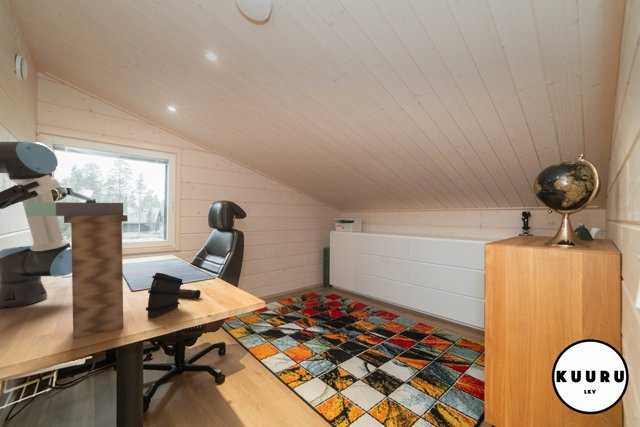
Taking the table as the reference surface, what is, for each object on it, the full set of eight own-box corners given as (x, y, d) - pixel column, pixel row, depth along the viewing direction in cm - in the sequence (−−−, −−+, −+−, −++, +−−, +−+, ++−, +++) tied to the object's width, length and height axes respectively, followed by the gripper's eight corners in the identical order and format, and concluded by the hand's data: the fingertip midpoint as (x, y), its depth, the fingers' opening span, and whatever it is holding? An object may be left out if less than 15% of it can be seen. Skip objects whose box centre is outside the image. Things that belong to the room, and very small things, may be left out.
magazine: (137, 316, 93) (153, 272, 99) (167, 319, 105) (180, 280, 111) (146, 317, 92) (162, 273, 98) (175, 320, 103) (187, 280, 109)
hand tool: (201, 298, 118) (201, 287, 118) (194, 301, 114) (194, 289, 114) (167, 294, 124) (167, 283, 124) (160, 296, 121) (160, 286, 121)
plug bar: (26, 216, 77) (26, 202, 77) (29, 216, 80) (29, 202, 80) (123, 215, 90) (123, 202, 90) (122, 215, 93) (122, 203, 93)
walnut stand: (66, 340, 80) (63, 216, 79) (70, 328, 88) (68, 215, 87) (129, 326, 89) (127, 215, 88) (127, 317, 97) (126, 214, 96)
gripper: (-7, 222, 92) (67, 192, 103) (-39, 225, 72) (57, 188, 83) (-25, 203, 89) (53, 174, 100) (-63, 200, 70) (39, 165, 81)
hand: (55, 180), depth 92 cm, fingers open, 13 cm apart
